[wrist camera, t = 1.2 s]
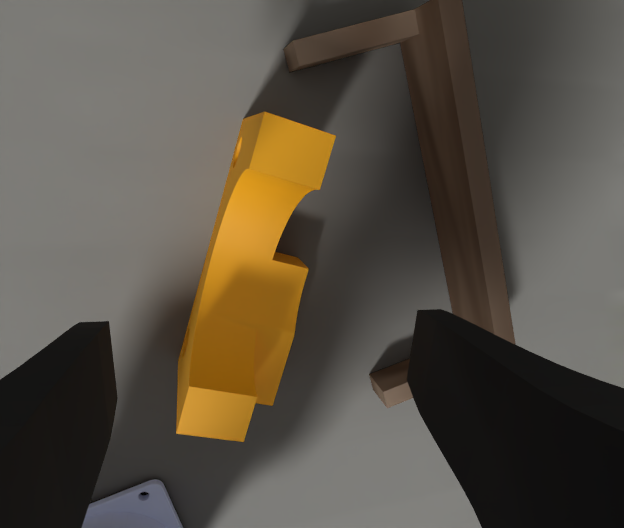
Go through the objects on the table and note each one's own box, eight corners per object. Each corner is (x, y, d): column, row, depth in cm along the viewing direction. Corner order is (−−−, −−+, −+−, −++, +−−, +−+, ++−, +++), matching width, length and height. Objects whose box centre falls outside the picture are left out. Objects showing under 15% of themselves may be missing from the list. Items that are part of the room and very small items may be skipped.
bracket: (373, 389, 27) (403, 429, 23) (283, 49, 22) (303, 30, 18) (476, 349, 28) (521, 381, 24) (415, 14, 23) (460, -10, 19)
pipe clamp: (262, 373, 26) (286, 447, 19) (178, 359, 24) (176, 433, 18) (330, 147, 24) (380, 150, 17) (242, 118, 22) (264, 111, 16)
